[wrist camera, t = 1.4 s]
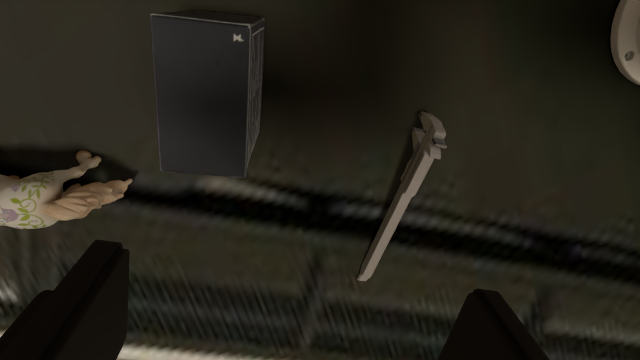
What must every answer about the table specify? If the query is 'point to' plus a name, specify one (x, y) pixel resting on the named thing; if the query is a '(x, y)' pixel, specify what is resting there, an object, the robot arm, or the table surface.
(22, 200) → the unicorn figurine
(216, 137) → the small box
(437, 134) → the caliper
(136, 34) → the table surface
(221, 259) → the table surface
